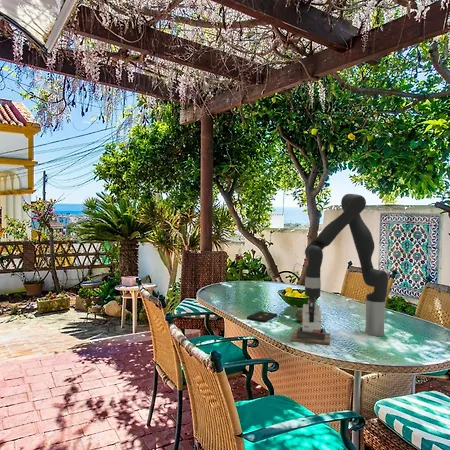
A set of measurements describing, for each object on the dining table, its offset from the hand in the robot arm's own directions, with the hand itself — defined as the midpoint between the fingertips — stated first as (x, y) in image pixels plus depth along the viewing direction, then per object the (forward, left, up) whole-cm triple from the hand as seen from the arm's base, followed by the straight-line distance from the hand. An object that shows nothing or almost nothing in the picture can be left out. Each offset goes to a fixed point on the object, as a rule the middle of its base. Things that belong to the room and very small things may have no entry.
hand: (311, 320), depth 191 cm
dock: (0, 0, -9) cm, 9 cm away
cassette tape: (-30, -30, -10) cm, 43 cm away
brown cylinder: (-27, -4, -9) cm, 29 cm away
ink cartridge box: (0, 0, -7) cm, 7 cm away
